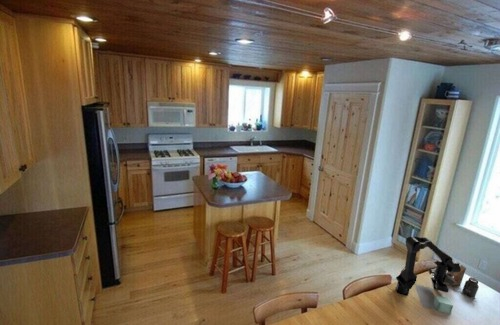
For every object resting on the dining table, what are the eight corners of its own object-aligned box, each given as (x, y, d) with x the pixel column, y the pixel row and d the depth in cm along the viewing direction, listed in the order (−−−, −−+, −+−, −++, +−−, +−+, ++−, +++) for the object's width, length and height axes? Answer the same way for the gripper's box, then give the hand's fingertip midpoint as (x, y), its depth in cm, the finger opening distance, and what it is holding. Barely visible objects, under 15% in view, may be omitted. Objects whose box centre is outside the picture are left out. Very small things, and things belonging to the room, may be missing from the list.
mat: (422, 307, 161) (422, 306, 161) (414, 284, 181) (414, 283, 180) (451, 314, 157) (451, 314, 157) (439, 291, 176) (439, 290, 176)
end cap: (436, 310, 159) (439, 301, 157) (433, 303, 165) (436, 295, 163) (450, 313, 157) (453, 305, 155) (446, 306, 162) (449, 298, 161)
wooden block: (460, 285, 183) (468, 263, 178) (446, 285, 182) (454, 263, 177) (456, 281, 187) (463, 260, 182) (442, 282, 185) (449, 260, 180)
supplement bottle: (463, 296, 173) (469, 281, 170) (460, 289, 179) (465, 274, 176) (476, 300, 170) (482, 284, 167) (472, 292, 177) (477, 277, 173)
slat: (439, 308, 160) (440, 304, 159) (432, 292, 173) (433, 288, 172) (446, 310, 159) (447, 305, 158) (438, 294, 172) (439, 290, 171)
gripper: (461, 283, 159) (454, 304, 163) (450, 265, 176) (443, 284, 180) (440, 278, 162) (434, 299, 166) (431, 261, 179) (425, 280, 183)
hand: (434, 290), depth 174 cm, fingers closed
